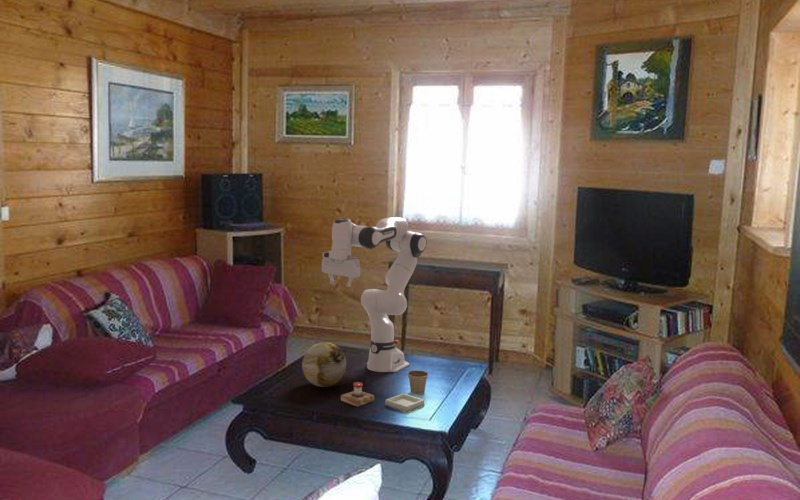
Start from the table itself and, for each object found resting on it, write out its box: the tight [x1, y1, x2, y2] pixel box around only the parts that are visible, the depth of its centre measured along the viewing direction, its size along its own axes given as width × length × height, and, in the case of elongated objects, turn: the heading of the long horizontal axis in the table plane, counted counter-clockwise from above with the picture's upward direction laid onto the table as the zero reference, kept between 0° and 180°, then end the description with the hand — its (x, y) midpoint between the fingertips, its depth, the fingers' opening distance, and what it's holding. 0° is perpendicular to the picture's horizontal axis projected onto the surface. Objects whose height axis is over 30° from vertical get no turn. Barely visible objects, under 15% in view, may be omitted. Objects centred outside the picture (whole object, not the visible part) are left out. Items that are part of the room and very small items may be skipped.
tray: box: [384, 393, 425, 413], centre depth 285 cm, size 12×12×2 cm
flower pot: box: [407, 369, 429, 395], centre depth 302 cm, size 9×9×9 cm
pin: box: [352, 381, 364, 398], centre depth 288 cm, size 4×4×8 cm
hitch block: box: [340, 390, 375, 407], centre depth 289 cm, size 10×10×2 cm
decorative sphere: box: [301, 341, 347, 388], centre depth 305 cm, size 20×20×20 cm
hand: (340, 285), depth 305 cm, fingers open, 8 cm apart
